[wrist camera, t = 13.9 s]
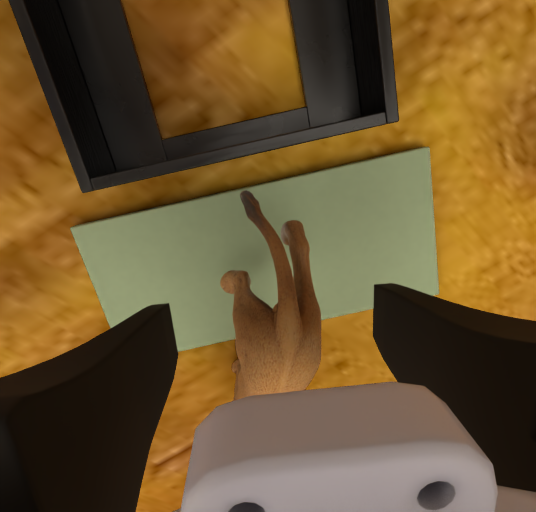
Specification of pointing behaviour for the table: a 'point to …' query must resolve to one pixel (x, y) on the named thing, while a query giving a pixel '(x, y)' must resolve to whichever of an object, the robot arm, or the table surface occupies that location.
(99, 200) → the table surface
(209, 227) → the sage mat
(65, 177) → the table surface
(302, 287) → the lion figurine
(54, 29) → the picture frame
